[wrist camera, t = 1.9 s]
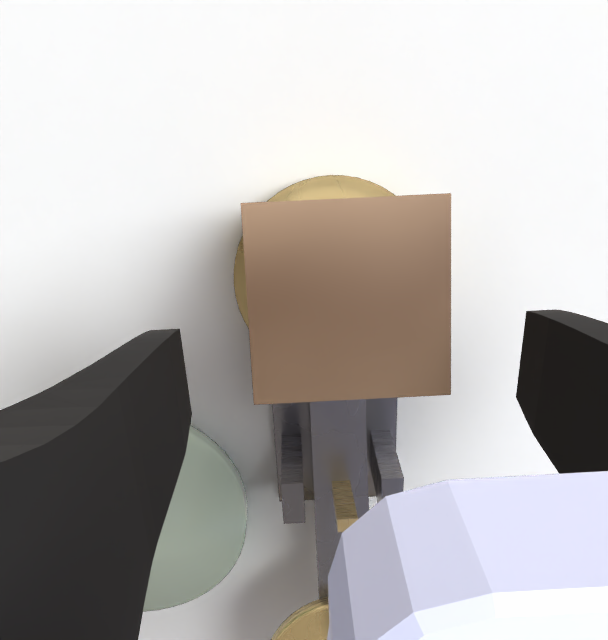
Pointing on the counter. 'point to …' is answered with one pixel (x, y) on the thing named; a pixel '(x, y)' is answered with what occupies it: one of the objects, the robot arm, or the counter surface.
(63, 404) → the robot arm
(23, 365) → the counter surface
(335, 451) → the balance beam
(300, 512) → the balance stand
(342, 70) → the counter surface
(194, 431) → the dish
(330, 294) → the walnut block
